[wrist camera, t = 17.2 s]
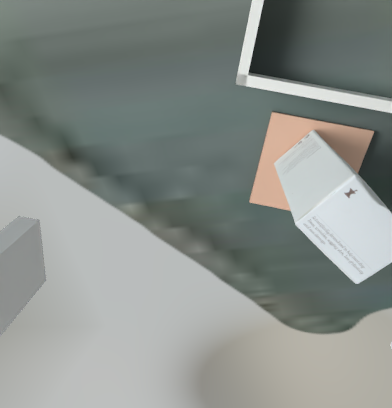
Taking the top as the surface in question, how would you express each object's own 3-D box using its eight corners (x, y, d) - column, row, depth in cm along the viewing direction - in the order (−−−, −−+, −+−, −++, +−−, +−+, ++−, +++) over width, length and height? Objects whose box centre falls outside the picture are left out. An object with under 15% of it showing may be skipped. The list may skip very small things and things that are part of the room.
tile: (272, 111, 38) (272, 112, 37) (372, 130, 37) (374, 131, 37) (249, 200, 43) (249, 202, 42) (338, 218, 42) (339, 220, 41)
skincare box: (272, 162, 40) (285, 222, 26) (315, 125, 37) (353, 170, 24) (319, 210, 41) (353, 290, 28) (363, 178, 39) (423, 248, 26)
